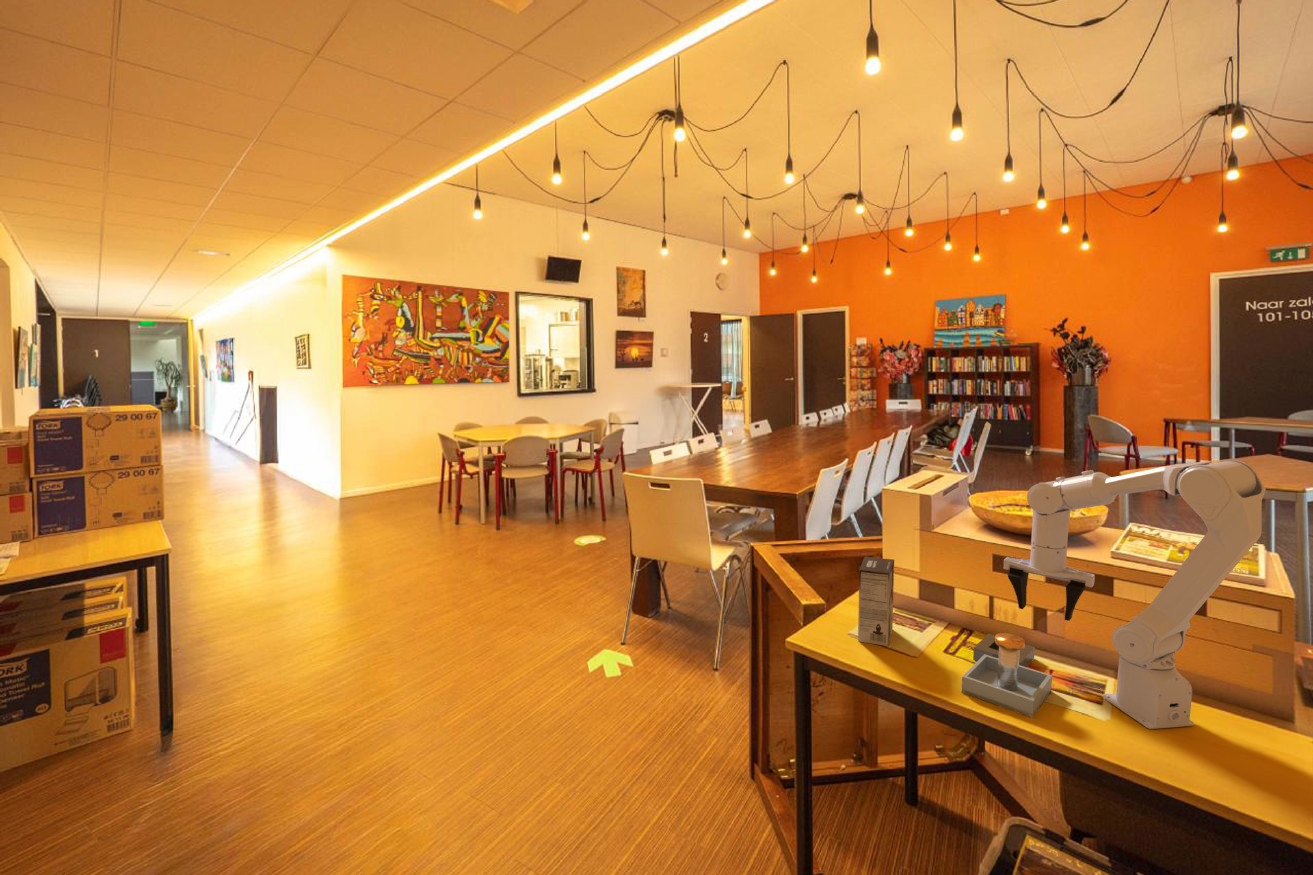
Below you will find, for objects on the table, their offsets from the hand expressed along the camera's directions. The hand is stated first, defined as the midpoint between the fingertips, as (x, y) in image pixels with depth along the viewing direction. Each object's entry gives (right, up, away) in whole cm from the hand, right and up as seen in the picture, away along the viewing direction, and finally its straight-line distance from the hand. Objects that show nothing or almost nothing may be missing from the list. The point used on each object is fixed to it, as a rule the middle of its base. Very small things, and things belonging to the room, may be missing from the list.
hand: (1044, 612), depth 117 cm
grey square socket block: (-6, -10, +4) cm, 12 cm away
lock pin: (-11, -11, -7) cm, 17 cm away
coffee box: (-27, -9, +15) cm, 32 cm away
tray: (-12, -12, -8) cm, 18 cm away
